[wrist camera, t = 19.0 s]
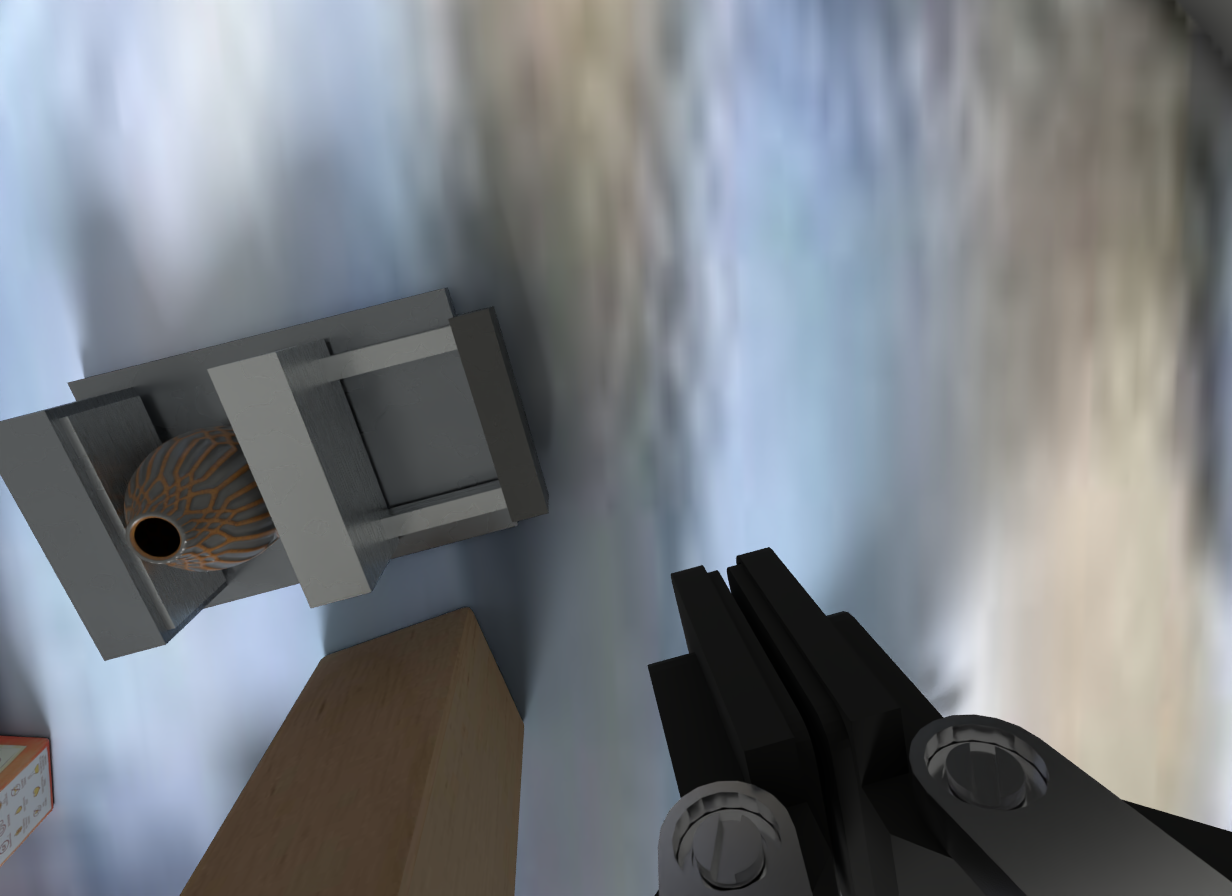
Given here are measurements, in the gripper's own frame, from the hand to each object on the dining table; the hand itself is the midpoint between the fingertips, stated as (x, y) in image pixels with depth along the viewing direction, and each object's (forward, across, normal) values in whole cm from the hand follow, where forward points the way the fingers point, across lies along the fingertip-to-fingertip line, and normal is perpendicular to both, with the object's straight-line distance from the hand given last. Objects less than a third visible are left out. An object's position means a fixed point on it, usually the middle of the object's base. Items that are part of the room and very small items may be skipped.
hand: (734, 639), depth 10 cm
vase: (+26, +20, 0) cm, 33 cm away
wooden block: (+27, +16, +17) cm, 36 cm away
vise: (+27, +17, 0) cm, 32 cm away
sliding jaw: (+26, +11, 0) cm, 28 cm away
